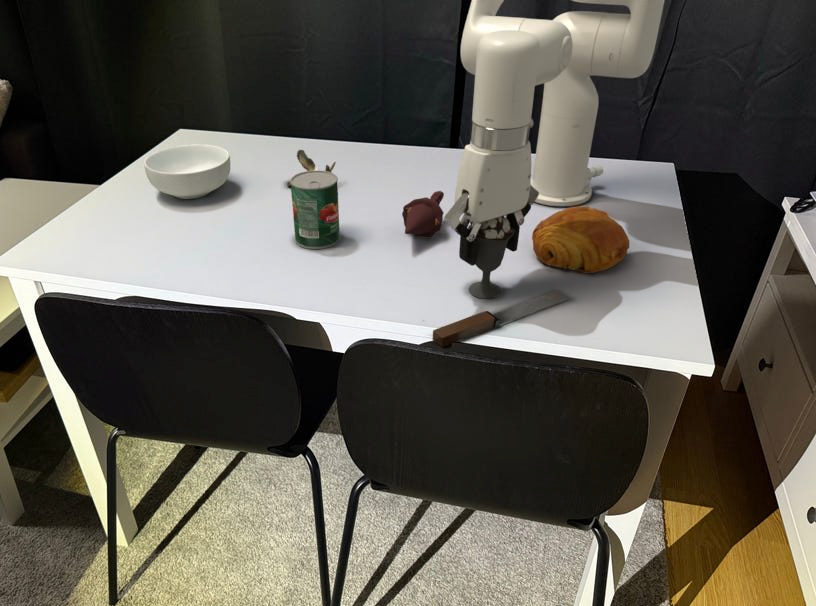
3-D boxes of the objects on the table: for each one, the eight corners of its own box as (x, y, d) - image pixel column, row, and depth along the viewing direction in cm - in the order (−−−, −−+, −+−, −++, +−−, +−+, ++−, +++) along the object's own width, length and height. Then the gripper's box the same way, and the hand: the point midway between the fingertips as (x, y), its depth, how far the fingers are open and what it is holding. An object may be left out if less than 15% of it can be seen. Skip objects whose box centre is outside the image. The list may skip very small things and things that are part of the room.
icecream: (433, 222, 113) (463, 195, 124) (392, 204, 115) (425, 178, 126) (420, 259, 117) (450, 229, 128) (380, 241, 119) (413, 213, 130)
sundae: (510, 282, 109) (521, 190, 101) (503, 304, 104) (515, 210, 96) (467, 277, 111) (475, 186, 102) (459, 298, 106) (466, 204, 97)
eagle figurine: (338, 173, 145) (300, 160, 147) (334, 152, 138) (293, 138, 140) (322, 204, 143) (283, 190, 145) (316, 184, 136) (276, 169, 138)
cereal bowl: (248, 193, 141) (244, 159, 137) (171, 216, 134) (164, 180, 130) (211, 169, 153) (206, 136, 149) (137, 188, 146) (130, 155, 141)
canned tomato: (294, 230, 127) (289, 171, 120) (337, 227, 127) (335, 168, 121) (296, 251, 121) (291, 190, 114) (342, 247, 121) (339, 186, 114)
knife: (555, 291, 107) (556, 282, 106) (568, 300, 105) (570, 290, 104) (431, 338, 98) (431, 329, 97) (443, 348, 96) (443, 339, 95)
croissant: (514, 264, 118) (514, 222, 113) (575, 224, 124) (577, 183, 119) (587, 296, 109) (590, 251, 103) (649, 251, 114) (655, 207, 109)
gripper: (530, 114, 100) (516, 230, 110) (429, 139, 93) (424, 260, 104) (569, 128, 94) (550, 249, 105) (464, 156, 88) (456, 281, 98)
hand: (488, 253), depth 104 cm, fingers closed on sundae, 6 cm apart
